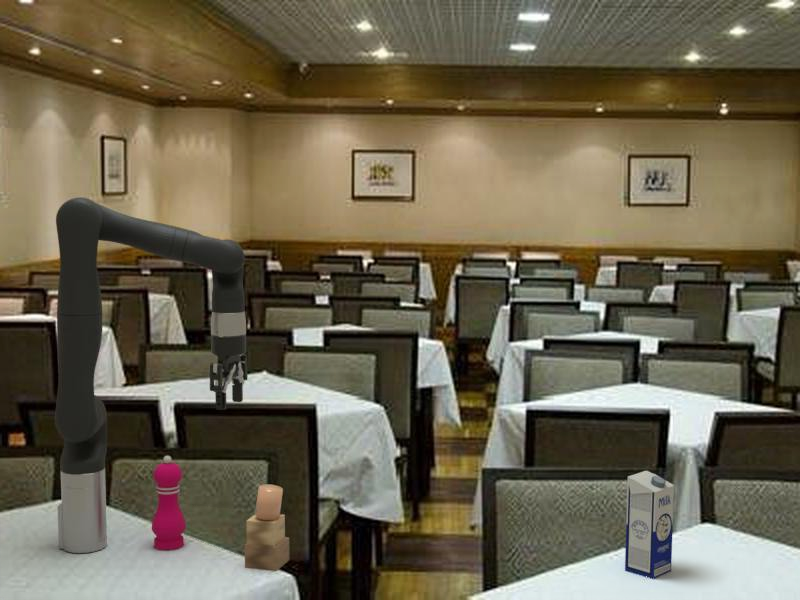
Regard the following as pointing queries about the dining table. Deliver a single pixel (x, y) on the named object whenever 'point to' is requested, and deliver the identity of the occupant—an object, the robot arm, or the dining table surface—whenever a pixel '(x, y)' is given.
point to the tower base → (267, 556)
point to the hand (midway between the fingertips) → (229, 405)
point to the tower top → (265, 531)
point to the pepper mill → (168, 507)
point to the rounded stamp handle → (269, 502)
